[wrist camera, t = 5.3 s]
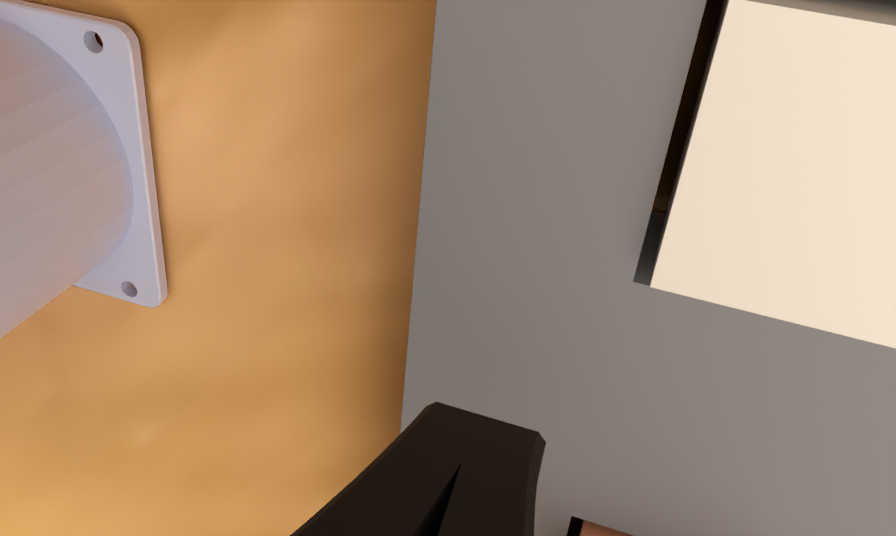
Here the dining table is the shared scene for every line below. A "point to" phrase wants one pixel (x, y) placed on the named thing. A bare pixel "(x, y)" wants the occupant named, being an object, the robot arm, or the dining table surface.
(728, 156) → the white key
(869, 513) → the key console
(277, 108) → the dining table surface
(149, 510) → the dining table surface
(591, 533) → the terracotta key
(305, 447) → the dining table surface
